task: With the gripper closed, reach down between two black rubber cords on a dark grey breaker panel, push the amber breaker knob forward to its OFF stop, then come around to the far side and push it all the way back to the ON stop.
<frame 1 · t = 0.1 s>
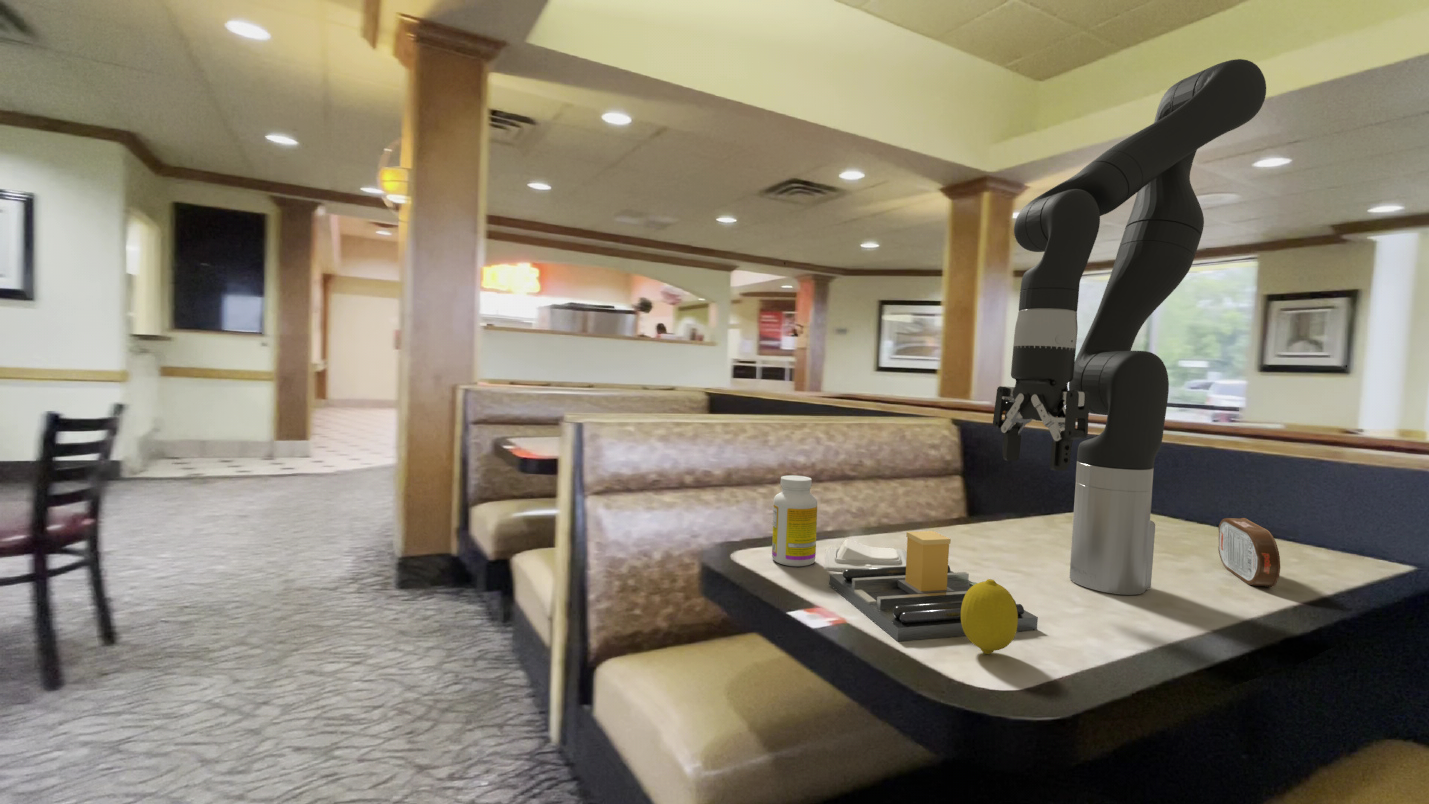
hand: (1033, 465, 86), 17 cm above the table, tool pointing down, fingers open, 8 cm apart
light switch: (866, 568, 98), on the table
lemon: (986, 655, 67), on the table
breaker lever: (926, 563, 80), point 5 cm above the table, slide at 5.0 cm
tin: (1243, 578, 96), on the table
supplement bottle: (793, 562, 97), on the table
panel: (924, 605, 81), on the table
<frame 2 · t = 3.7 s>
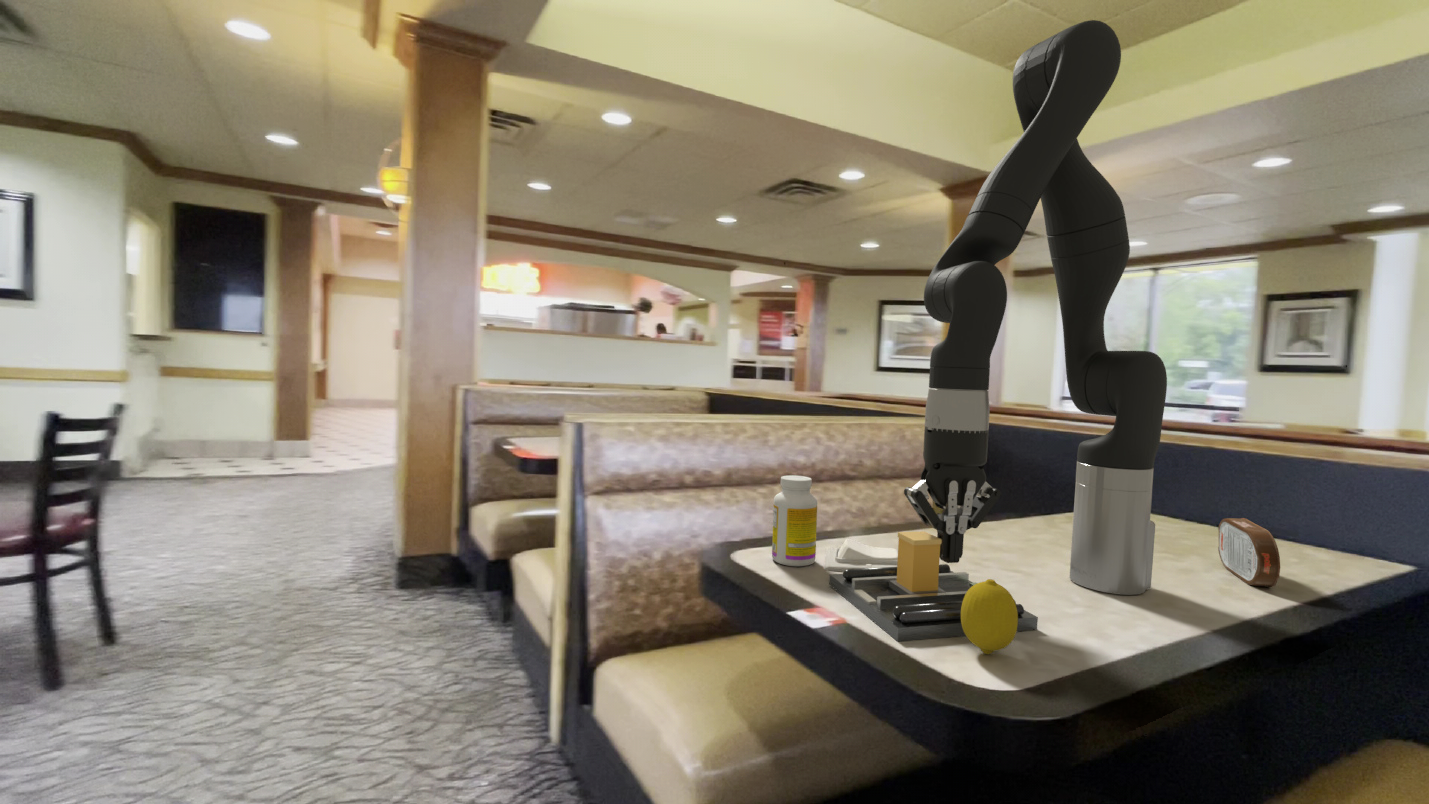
hand: (948, 560, 81), 6 cm above the table, tool pointing down, fingers closed
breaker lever: (917, 564, 80), point 5 cm above the table, slide at 6.3 cm, touching gripper
everything else where it was.
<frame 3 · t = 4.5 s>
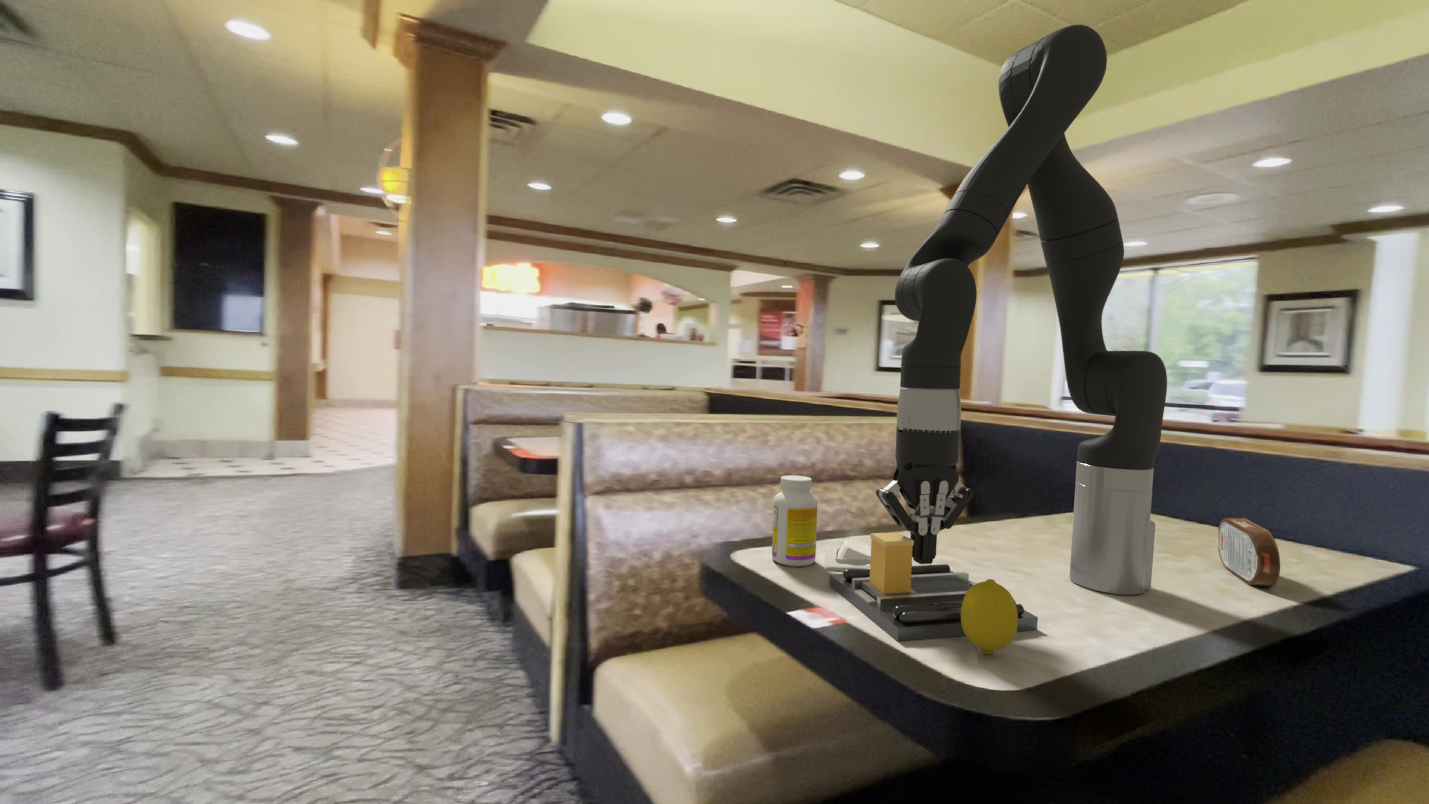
hand: (922, 562, 80), 6 cm above the table, tool pointing down, fingers closed
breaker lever: (890, 565, 79), point 5 cm above the table, slide at 10.1 cm, touching gripper
everything else where it was.
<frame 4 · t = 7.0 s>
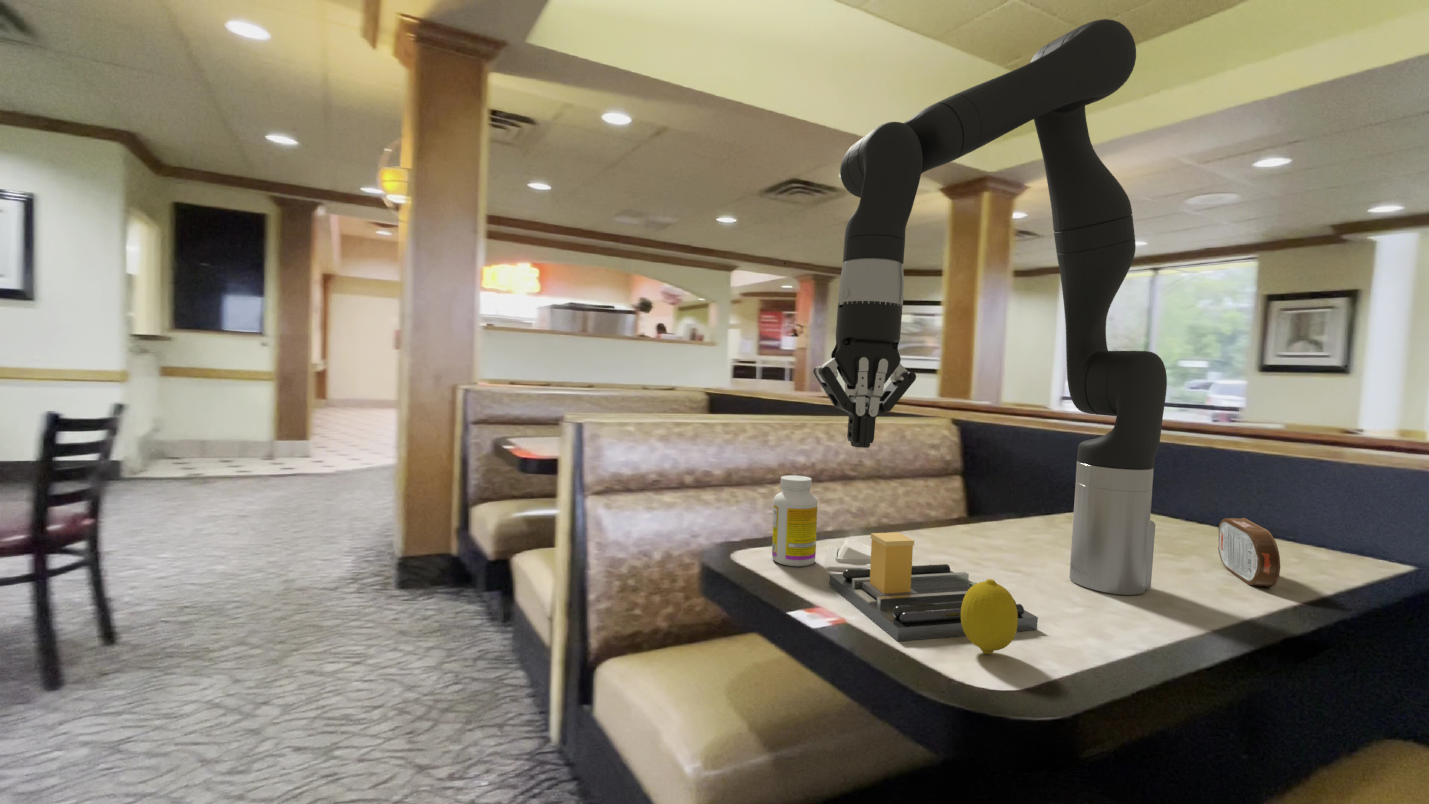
hand: (859, 446, 77), 20 cm above the table, tool pointing down, fingers closed
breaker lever: (890, 565, 79), point 5 cm above the table, slide at 10.0 cm
everything else where it was.
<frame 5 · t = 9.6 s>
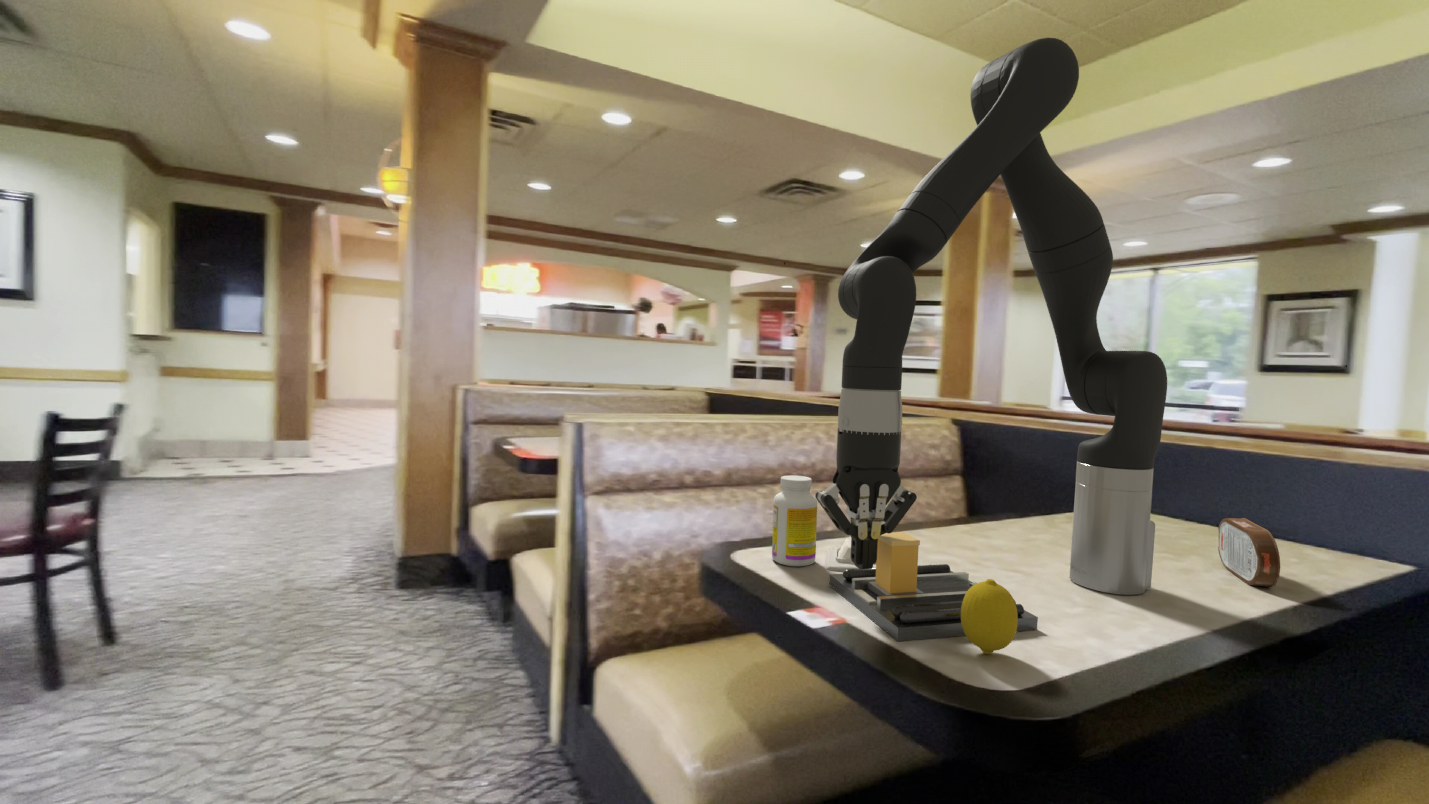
hand: (863, 567, 78), 5 cm above the table, tool pointing down, fingers closed
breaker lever: (896, 565, 79), point 5 cm above the table, slide at 9.2 cm, touching gripper
everything else where it was.
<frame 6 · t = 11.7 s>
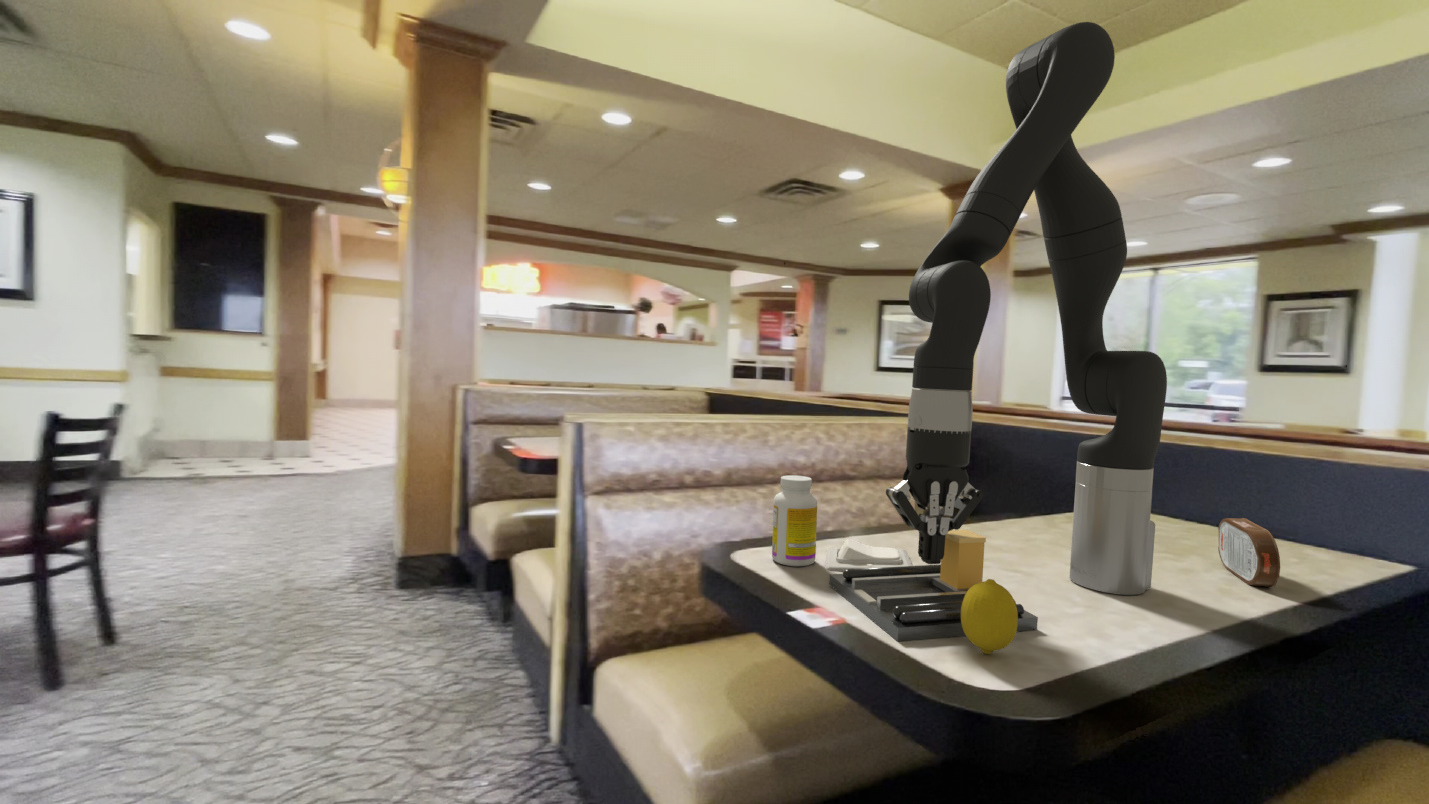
hand: (930, 562, 80), 6 cm above the table, tool pointing down, fingers closed
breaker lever: (961, 561, 81), point 5 cm above the table, slide at 0.0 cm, touching gripper
everything else where it was.
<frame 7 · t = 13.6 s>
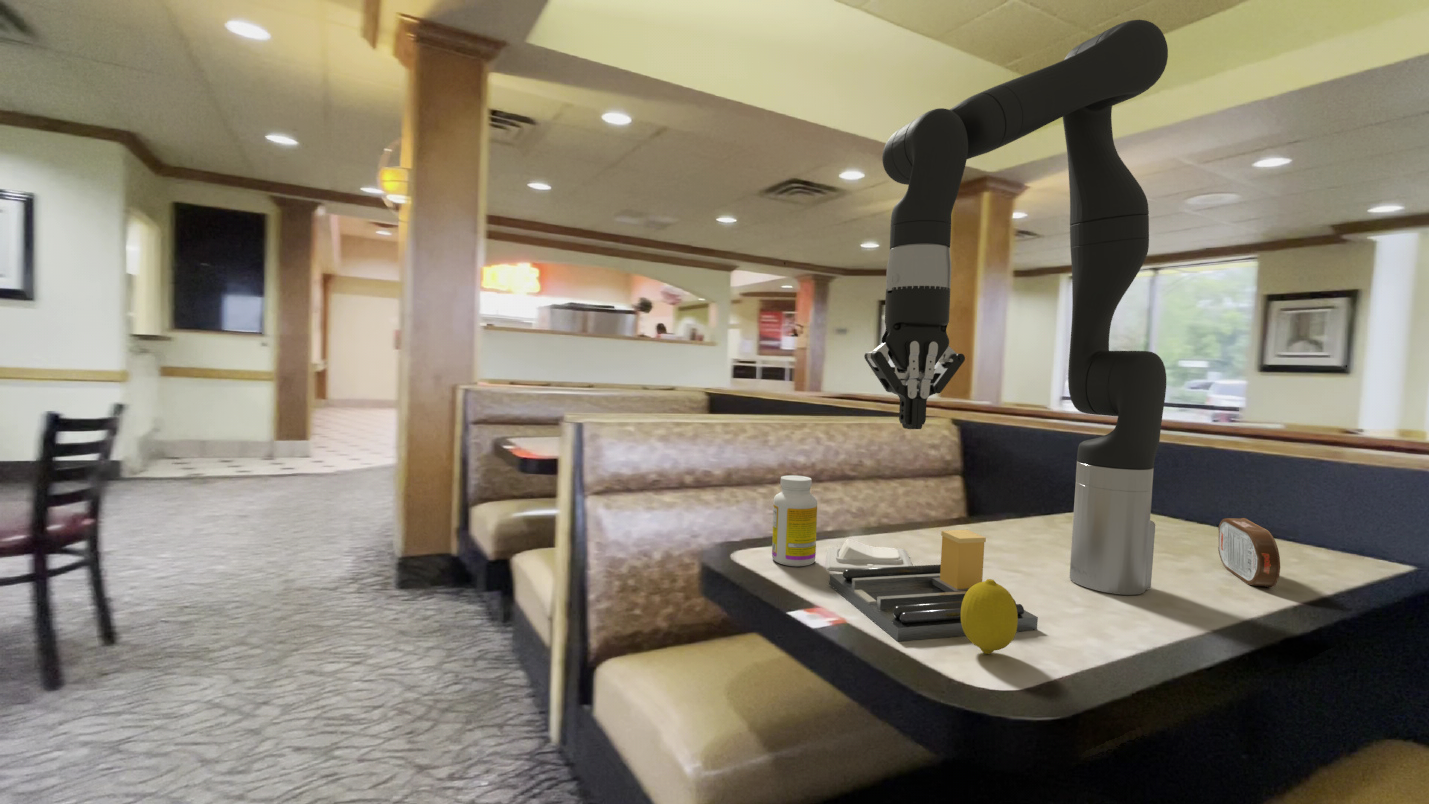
hand: (911, 428, 79), 22 cm above the table, tool pointing down, fingers closed
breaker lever: (961, 561, 81), point 5 cm above the table, slide at 0.0 cm
everything else where it was.
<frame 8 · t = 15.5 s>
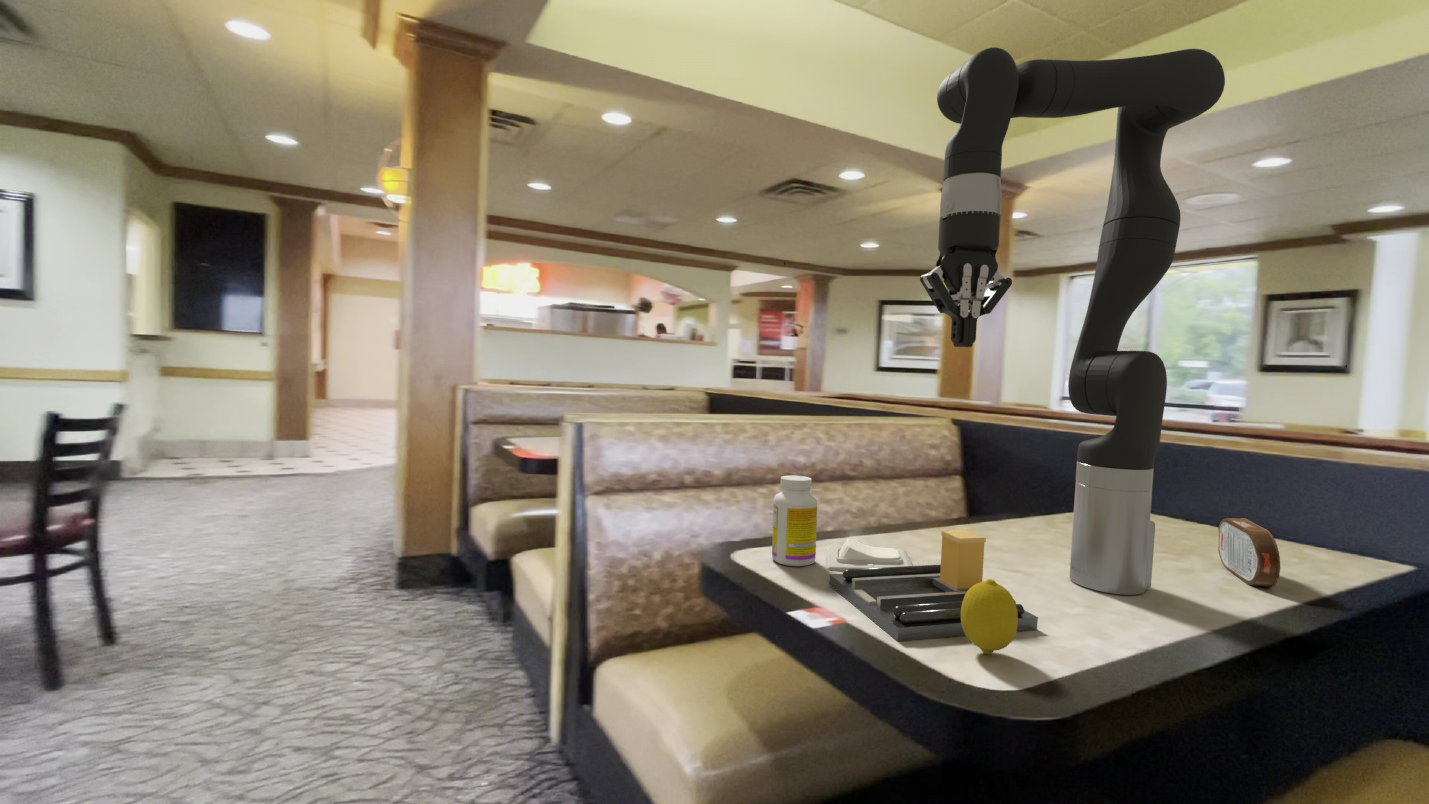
hand: (962, 346, 85), 33 cm above the table, tool pointing down, fingers closed
nothing on the table moved.
at the end: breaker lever slide at 0.0 cm; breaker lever touching nothing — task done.
